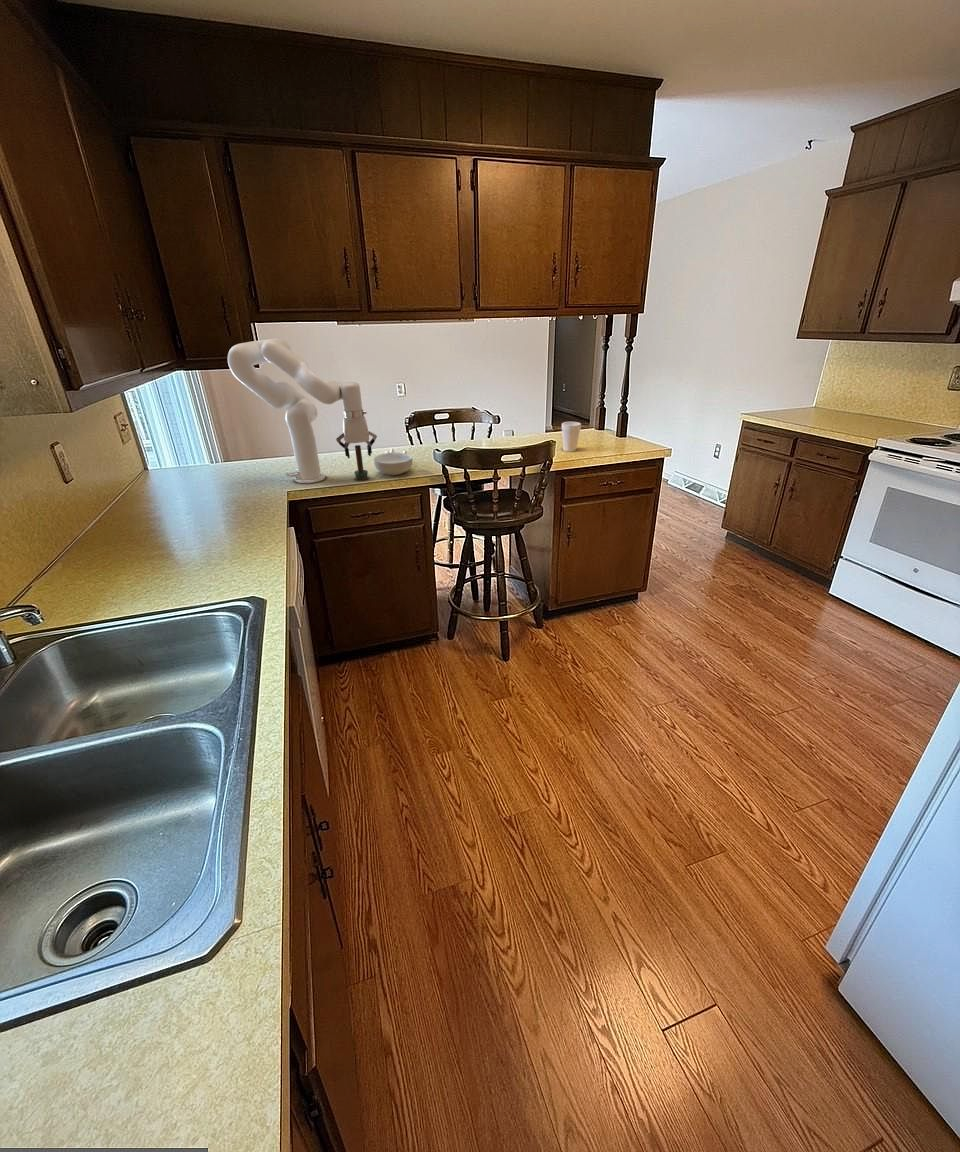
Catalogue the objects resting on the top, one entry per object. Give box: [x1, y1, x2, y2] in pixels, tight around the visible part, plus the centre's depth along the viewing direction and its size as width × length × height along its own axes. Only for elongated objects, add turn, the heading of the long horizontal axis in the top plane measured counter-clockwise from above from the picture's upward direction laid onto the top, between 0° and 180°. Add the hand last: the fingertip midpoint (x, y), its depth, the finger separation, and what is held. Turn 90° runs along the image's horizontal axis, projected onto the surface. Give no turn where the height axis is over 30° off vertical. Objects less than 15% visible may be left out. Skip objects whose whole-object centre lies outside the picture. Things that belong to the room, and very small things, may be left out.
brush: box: [353, 444, 369, 482], centre depth 221 cm, size 6×6×14 cm
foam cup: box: [561, 421, 582, 452], centre depth 259 cm, size 10×9×13 cm
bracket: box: [384, 447, 408, 454], centre depth 244 cm, size 13×7×8 cm, turn 20°
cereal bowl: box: [373, 452, 413, 476], centre depth 229 cm, size 17×17×7 cm
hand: (359, 456), depth 219 cm, fingers open, 8 cm apart
